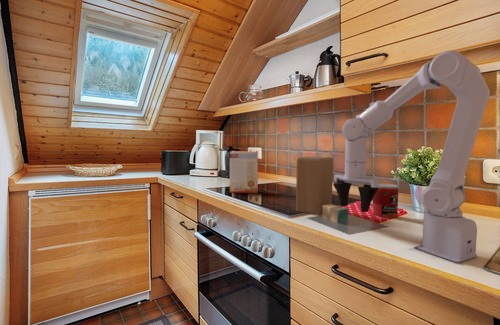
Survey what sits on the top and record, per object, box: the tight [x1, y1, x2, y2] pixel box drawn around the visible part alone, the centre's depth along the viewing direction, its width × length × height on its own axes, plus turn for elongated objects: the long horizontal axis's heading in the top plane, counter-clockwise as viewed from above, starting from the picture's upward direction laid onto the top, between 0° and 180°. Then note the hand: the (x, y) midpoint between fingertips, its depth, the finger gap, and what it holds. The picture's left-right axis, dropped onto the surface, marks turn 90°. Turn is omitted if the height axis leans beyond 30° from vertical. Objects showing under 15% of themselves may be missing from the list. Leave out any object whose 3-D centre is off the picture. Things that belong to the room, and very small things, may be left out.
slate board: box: [306, 213, 390, 235], centre depth 83 cm, size 18×16×1 cm
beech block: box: [321, 203, 349, 223], centre depth 86 cm, size 4×4×7 cm
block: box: [295, 156, 334, 216], centre depth 97 cm, size 10×10×20 cm
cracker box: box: [229, 150, 259, 194], centre depth 139 cm, size 14×6×21 cm, turn 84°
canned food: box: [371, 182, 399, 219], centre depth 92 cm, size 8×8×11 cm
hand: (354, 208), depth 79 cm, fingers open, 7 cm apart
